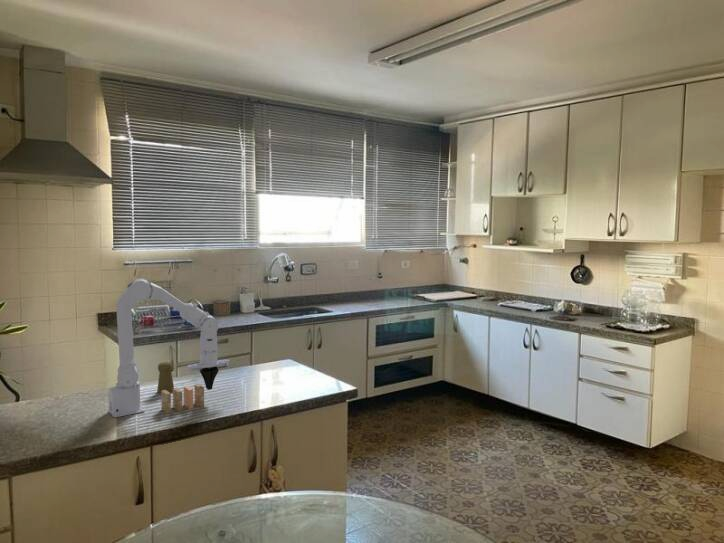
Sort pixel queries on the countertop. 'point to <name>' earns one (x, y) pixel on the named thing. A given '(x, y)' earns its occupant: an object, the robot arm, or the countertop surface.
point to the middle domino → (177, 399)
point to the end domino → (199, 395)
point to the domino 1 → (166, 401)
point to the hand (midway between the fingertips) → (209, 388)
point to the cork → (165, 377)
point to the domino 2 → (188, 397)
